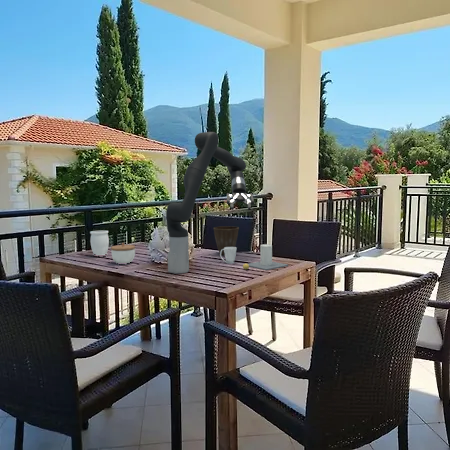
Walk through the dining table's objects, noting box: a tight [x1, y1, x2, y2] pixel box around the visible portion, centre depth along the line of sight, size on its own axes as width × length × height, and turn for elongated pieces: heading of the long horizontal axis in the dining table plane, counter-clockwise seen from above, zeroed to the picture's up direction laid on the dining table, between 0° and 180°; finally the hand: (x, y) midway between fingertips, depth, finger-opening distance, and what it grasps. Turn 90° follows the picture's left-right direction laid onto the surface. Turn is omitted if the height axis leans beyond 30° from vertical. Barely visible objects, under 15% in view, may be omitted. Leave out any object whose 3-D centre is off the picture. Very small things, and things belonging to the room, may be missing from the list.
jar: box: [89, 229, 110, 255], centre depth 248 cm, size 11×10×15 cm
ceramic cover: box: [260, 243, 273, 266], centre depth 216 cm, size 6×6×10 cm
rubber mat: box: [247, 261, 289, 271], centre depth 216 cm, size 16×16×1 cm
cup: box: [219, 246, 238, 264], centre depth 226 cm, size 7×10×8 cm
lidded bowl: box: [110, 242, 136, 264], centre depth 227 cm, size 13×13×11 cm
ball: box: [242, 263, 250, 270], centre depth 207 cm, size 3×3×3 cm
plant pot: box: [213, 225, 240, 256], centre depth 250 cm, size 15×15×16 cm
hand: (240, 209), depth 221 cm, fingers open, 8 cm apart
